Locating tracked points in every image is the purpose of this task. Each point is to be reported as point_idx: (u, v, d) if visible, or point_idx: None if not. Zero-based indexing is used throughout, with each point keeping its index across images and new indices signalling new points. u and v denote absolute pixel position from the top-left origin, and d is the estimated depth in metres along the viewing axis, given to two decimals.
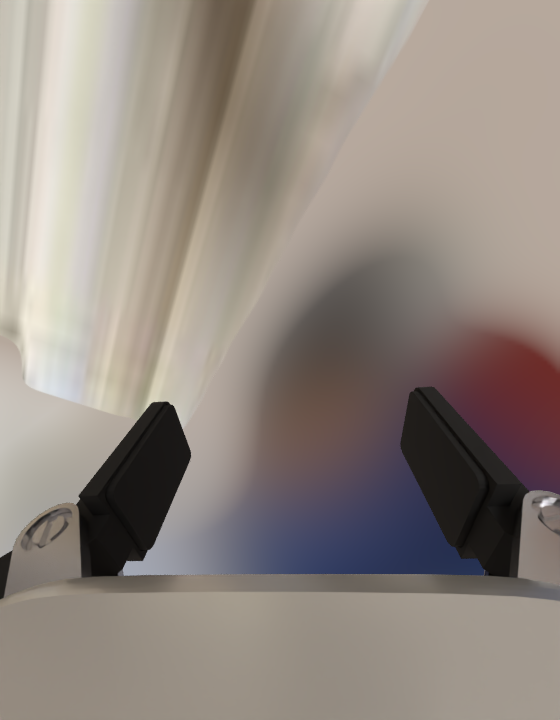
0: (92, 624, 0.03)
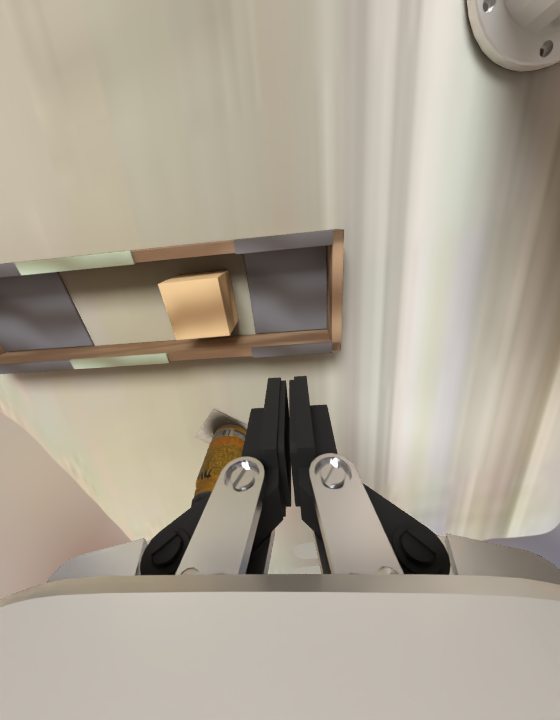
0: (92, 624, 0.03)
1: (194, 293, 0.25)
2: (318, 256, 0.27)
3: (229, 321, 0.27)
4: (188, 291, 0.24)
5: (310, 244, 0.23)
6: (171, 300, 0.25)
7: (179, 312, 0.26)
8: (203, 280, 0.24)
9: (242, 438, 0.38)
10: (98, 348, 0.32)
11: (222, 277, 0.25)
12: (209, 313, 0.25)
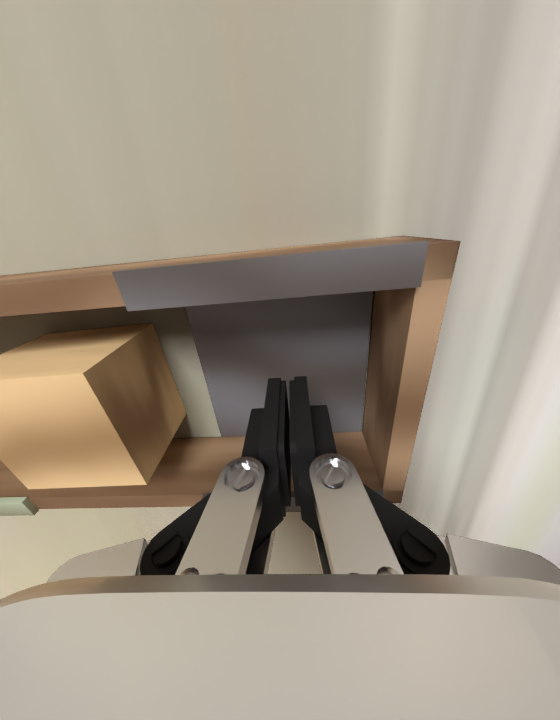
0: (92, 624, 0.03)
1: (34, 407, 0.09)
2: (354, 298, 0.11)
3: (145, 449, 0.11)
4: (16, 402, 0.09)
5: (349, 286, 0.07)
6: None
7: (12, 443, 0.10)
8: (47, 379, 0.09)
9: None
10: None
11: (115, 359, 0.10)
12: (86, 445, 0.10)
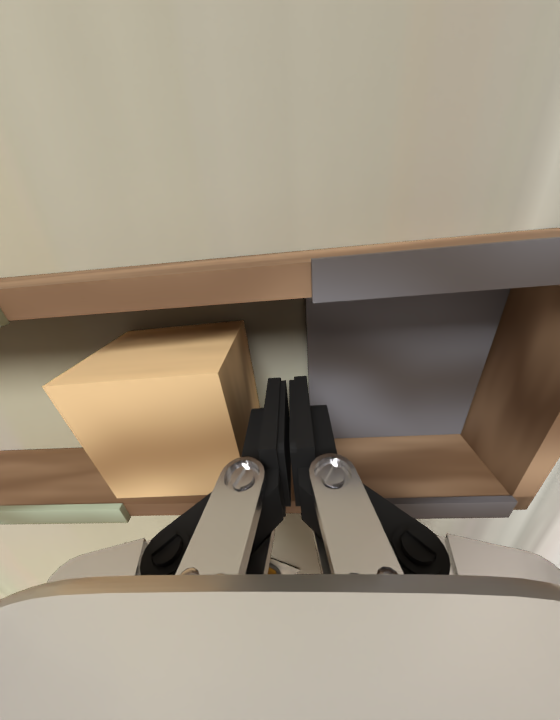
0: (92, 624, 0.03)
1: (151, 410, 0.09)
2: (489, 294, 0.11)
3: None
4: (133, 404, 0.08)
5: None
6: (89, 424, 0.09)
7: (115, 449, 0.10)
8: (175, 379, 0.08)
9: None
10: None
11: (230, 358, 0.09)
12: (196, 451, 0.09)
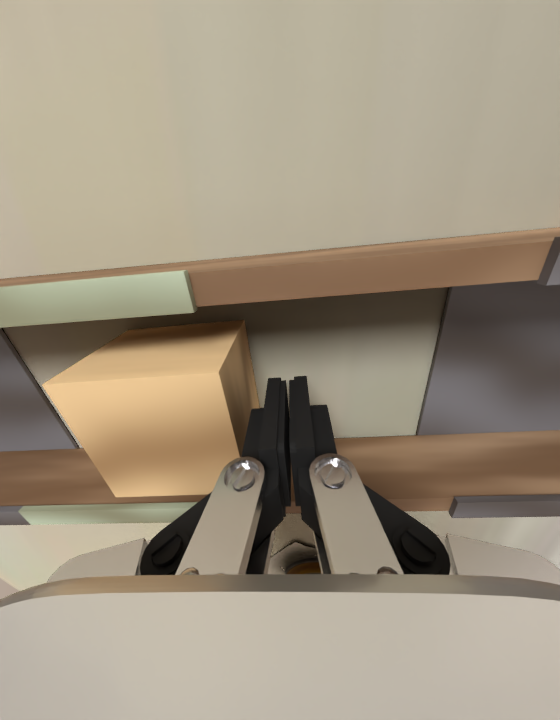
0: (92, 624, 0.03)
1: (151, 409, 0.09)
2: None
3: None
4: (133, 403, 0.08)
5: None
6: (89, 422, 0.09)
7: (114, 447, 0.10)
8: (176, 378, 0.08)
9: None
10: (86, 459, 0.16)
11: (231, 358, 0.09)
12: (196, 450, 0.09)
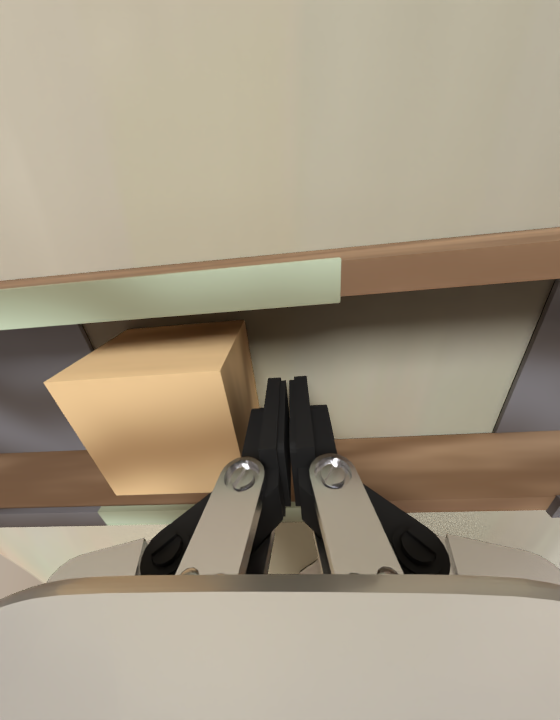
0: (92, 624, 0.03)
1: (153, 407, 0.09)
2: None
3: None
4: (135, 401, 0.08)
5: None
6: (91, 420, 0.09)
7: (115, 445, 0.10)
8: (178, 376, 0.08)
9: None
10: None
11: (231, 356, 0.09)
12: (197, 448, 0.09)
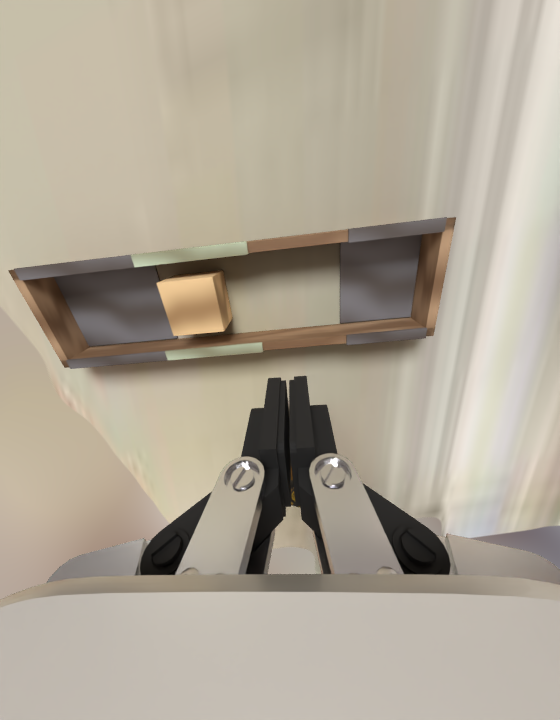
0: (92, 624, 0.03)
1: (190, 292, 0.26)
2: (412, 245, 0.28)
3: (223, 317, 0.28)
4: (185, 289, 0.26)
5: (422, 232, 0.24)
6: (169, 298, 0.27)
7: (176, 309, 0.27)
8: (199, 279, 0.26)
9: None
10: (184, 340, 0.33)
11: (216, 277, 0.27)
12: (204, 310, 0.27)
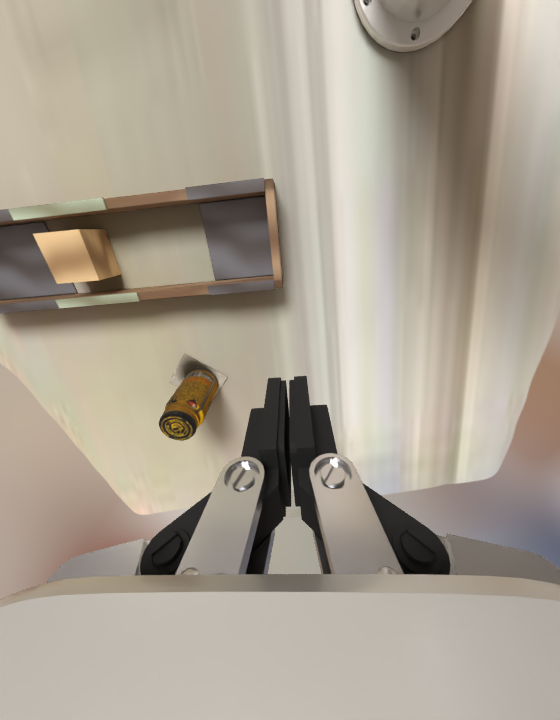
0: (92, 624, 0.03)
1: (63, 243, 0.31)
2: (261, 208, 0.32)
3: (99, 268, 0.33)
4: (58, 240, 0.31)
5: (246, 191, 0.28)
6: (46, 248, 0.31)
7: (54, 259, 0.32)
8: (68, 231, 0.30)
9: (209, 379, 0.43)
10: (81, 294, 0.38)
11: (88, 232, 0.32)
12: (78, 260, 0.32)
